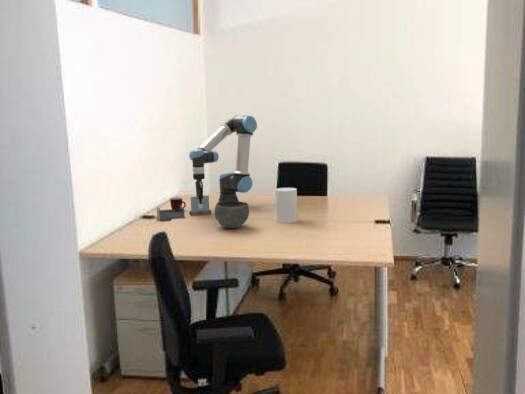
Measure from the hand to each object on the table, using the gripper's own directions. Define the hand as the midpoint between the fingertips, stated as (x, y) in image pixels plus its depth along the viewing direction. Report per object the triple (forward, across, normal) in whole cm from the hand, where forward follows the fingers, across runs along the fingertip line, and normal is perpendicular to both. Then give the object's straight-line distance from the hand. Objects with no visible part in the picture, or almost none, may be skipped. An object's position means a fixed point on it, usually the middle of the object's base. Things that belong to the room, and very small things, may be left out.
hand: (200, 208), depth 388 cm
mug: (+5, -16, -12) cm, 20 cm away
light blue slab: (+4, 0, 0) cm, 4 cm away
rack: (+5, 0, -20) cm, 21 cm away
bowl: (+5, +42, +11) cm, 44 cm away
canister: (+5, +38, +47) cm, 61 cm away
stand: (+5, 0, 0) cm, 5 cm away
